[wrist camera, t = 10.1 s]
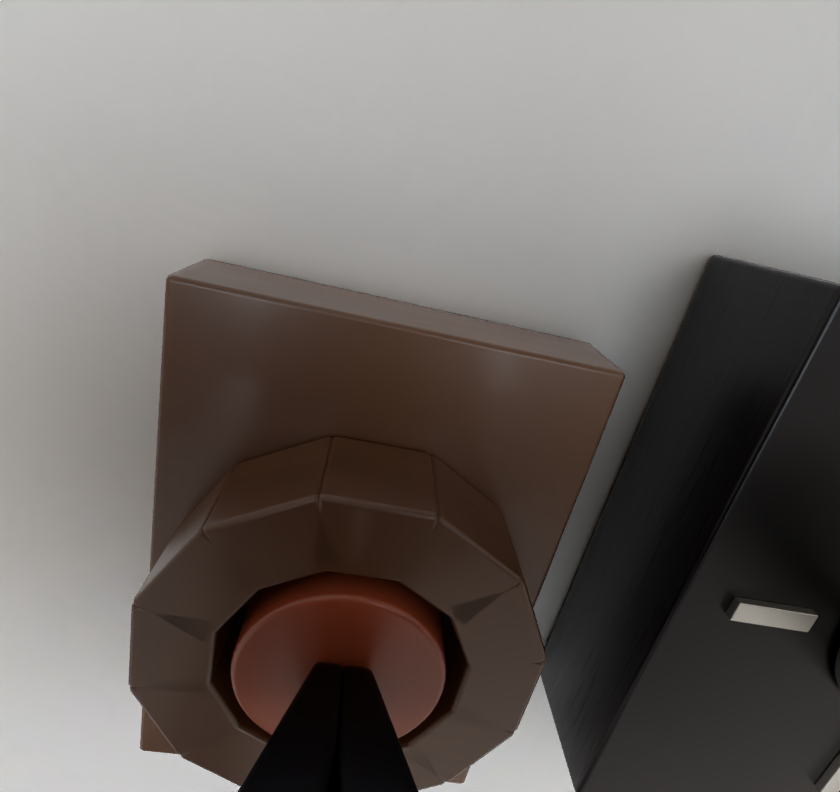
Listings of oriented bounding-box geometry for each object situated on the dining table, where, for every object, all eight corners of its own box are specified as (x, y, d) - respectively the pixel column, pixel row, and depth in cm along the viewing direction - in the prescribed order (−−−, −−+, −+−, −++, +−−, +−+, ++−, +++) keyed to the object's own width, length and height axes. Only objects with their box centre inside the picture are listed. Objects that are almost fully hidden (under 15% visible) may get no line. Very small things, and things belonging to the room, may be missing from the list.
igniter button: (415, 672, 10) (420, 765, 9) (247, 649, 10) (219, 742, 8) (457, 537, 9) (471, 615, 7) (269, 506, 9) (240, 582, 7)
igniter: (455, 714, 13) (475, 884, 10) (170, 680, 13) (92, 854, 9) (591, 343, 10) (688, 423, 7) (204, 257, 9) (97, 302, 6)
